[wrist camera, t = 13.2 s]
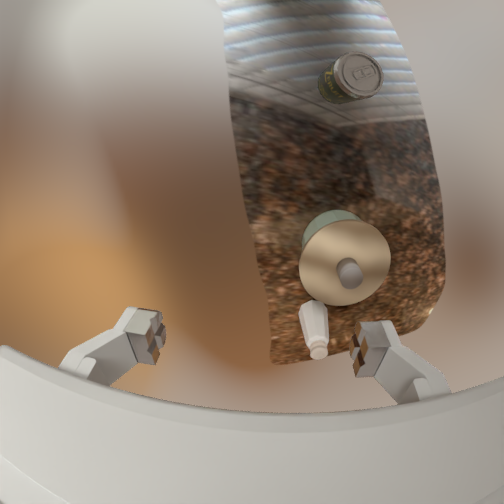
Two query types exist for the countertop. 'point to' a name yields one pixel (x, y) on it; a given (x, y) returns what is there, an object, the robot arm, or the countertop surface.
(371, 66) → the beer can
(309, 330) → the pepper shaker
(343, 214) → the pale green pot
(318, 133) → the countertop surface
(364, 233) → the lid
